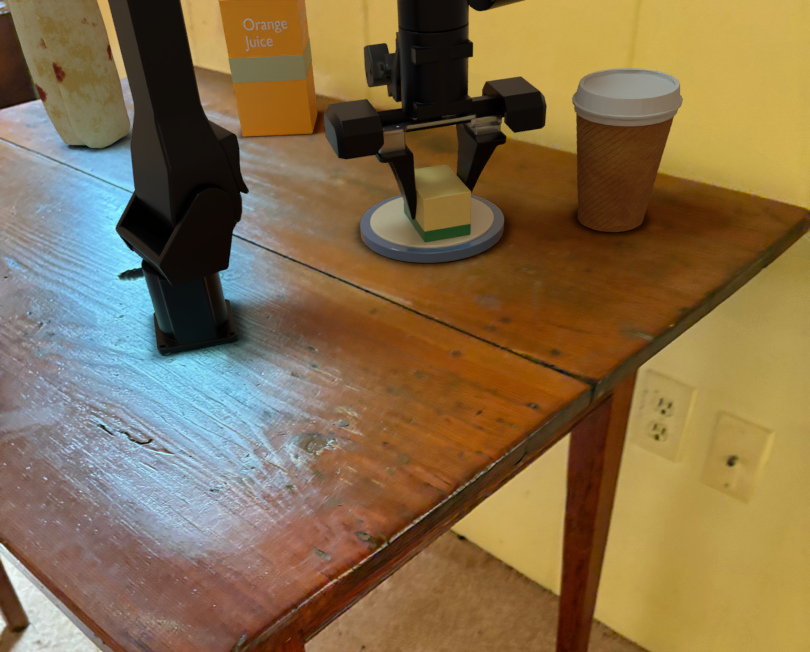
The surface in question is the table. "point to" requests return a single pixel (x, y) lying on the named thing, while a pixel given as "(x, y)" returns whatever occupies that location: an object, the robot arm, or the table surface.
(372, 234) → the plate
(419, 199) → the sponge
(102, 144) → the food model
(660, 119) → the disposable coffee cup
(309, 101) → the orange juice
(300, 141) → the table surface
